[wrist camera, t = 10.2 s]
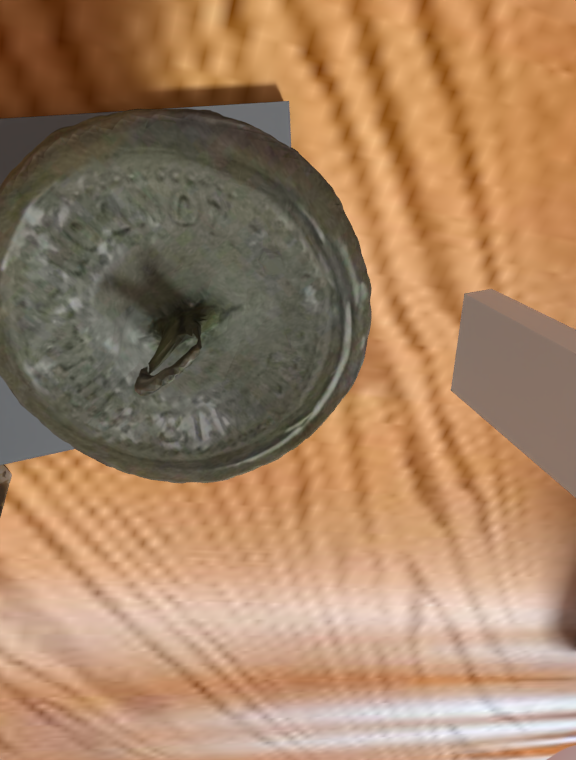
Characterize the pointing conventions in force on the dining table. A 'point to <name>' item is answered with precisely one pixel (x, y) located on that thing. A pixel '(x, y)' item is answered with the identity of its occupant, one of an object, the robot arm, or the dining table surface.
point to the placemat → (3, 153)
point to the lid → (177, 293)
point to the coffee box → (4, 484)
